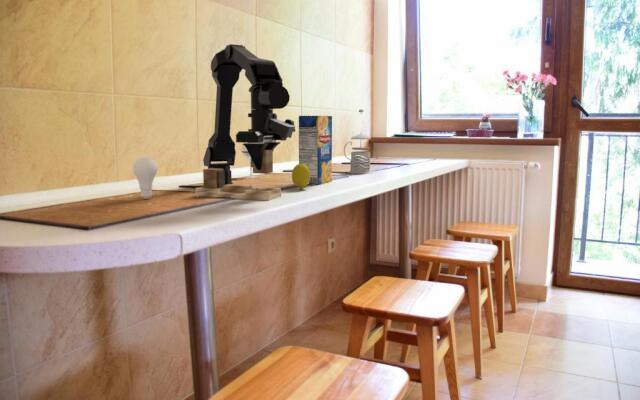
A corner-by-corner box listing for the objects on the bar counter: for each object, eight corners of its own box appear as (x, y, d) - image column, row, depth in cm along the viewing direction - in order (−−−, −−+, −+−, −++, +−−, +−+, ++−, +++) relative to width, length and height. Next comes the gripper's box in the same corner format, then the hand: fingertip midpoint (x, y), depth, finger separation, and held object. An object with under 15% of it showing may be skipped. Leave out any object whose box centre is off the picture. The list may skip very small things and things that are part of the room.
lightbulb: (136, 201, 139) (134, 158, 138) (132, 198, 145) (130, 156, 143) (160, 199, 142) (159, 157, 141) (156, 196, 148) (154, 156, 146)
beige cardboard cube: (272, 172, 147) (272, 149, 146) (266, 173, 143) (266, 150, 142) (257, 171, 148) (257, 149, 147) (250, 173, 144) (250, 150, 144)
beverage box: (298, 183, 179) (298, 115, 176) (313, 180, 189) (313, 116, 186) (317, 184, 176) (317, 115, 173) (331, 181, 186) (332, 116, 183)
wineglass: (263, 177, 198) (263, 144, 197) (246, 178, 195) (246, 144, 193) (255, 176, 204) (254, 143, 202) (238, 177, 200) (237, 144, 198)
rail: (194, 196, 149) (194, 169, 148) (210, 192, 156) (209, 167, 155) (268, 200, 141) (268, 172, 140) (281, 196, 149) (281, 169, 148)
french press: (373, 173, 215) (374, 108, 211) (344, 173, 215) (344, 108, 211) (371, 171, 224) (372, 109, 221) (343, 171, 225) (343, 109, 221)
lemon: (308, 190, 162) (308, 163, 161) (289, 190, 163) (289, 163, 162) (312, 188, 167) (312, 162, 166) (294, 187, 168) (294, 161, 167)
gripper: (275, 108, 132) (275, 173, 134) (303, 110, 149) (303, 167, 151) (234, 108, 135) (235, 171, 138) (266, 110, 153) (267, 165, 155)
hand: (262, 169), depth 145 cm, fingers closed on beige cardboard cube, 4 cm apart
